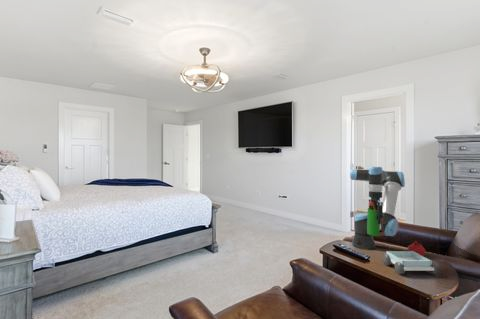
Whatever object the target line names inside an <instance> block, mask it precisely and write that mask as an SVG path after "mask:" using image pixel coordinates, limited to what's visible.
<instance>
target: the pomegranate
mask: <svg viewBox="0 0 480 319" xmlns="http://www.w3.org/2000/svg"><path fill="white" fill-rule="evenodd" d="M407 251H414V252H416V253H417V254H419V255H421V256H423V257H425V255H426V252H427V251H426V249H425V247H423V245H422V243H420V242H418V241H417V240H414V241H413V242H411V243H410V244H409V245H408V246H407Z"/></svg>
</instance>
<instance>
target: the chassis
mask: <svg viewBox="0 0 480 319" xmlns="http://www.w3.org/2000/svg"><path fill="white" fill-rule="evenodd" d="M385 253H386V254H385ZM385 253H384V254H382V263H383V265H385V266H391V265H392V264H393V265H394V270H395V272H396V273H397V275H404V274H405V273H406V271H409V272H410V271H412V272H413V271H418V272H419V271H422V272H423V271H426V273H427V274H429V275H436V274H437V272H438V268H437V266H436V264H435V263H434V262H433V260H431V259H429V258H427V257H425V256H421V255H419V254H417V253H416V252H414V251H408V250H407V251H406V250H405V251H404V250H401V251H397V250H395V251H394V250H393V251H392V250H389V251H388V250H387V251H386V252H385Z"/></svg>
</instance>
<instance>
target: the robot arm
mask: <svg viewBox="0 0 480 319" xmlns="http://www.w3.org/2000/svg"><path fill="white" fill-rule="evenodd" d="M349 176H350V177H349V178H350V180H351V181H362V182H367V183H368V186H367V187H368V198H370V199H368V203H369V202H373V204H374V208H375V210H378V215H377V218H375V219H378V224H380V230H381V231H383V236H386V237H395V236H396V234H397V233H398V229H399V221H398V220H397V218H396V216H395V212H396V208H397V207H396V206H397V202H398V201H397V200H398V195H399V191H401V190H402V188H405V185H406V183H405V181H406V180H405V175H404V173H403V171H389V170H387V171H386V170H384V169H383V167H382V166H369V168H368V169H357V168H356V169H351V170H350V173H349ZM383 187H384V189H385V190H384V193H383V192H382V191H383ZM381 199H382V201H381ZM368 208H371V210H373V206H369V205H368ZM367 217H368V212H367V213H366V212H364V213H362V212H361V213H357V214H355V215H354V235H353V238H352V240H351V241H352V242H351V245H352V246H353V247H355V248H358V249H362V250H374V249H375V248H376V243H375V240H374V236H373V235H369V234H367ZM382 218H383V219H382ZM381 220H383V222H382V223H383V225H382V226H383V227H382V228H381Z"/></svg>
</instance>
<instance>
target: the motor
mask: <svg viewBox="0 0 480 319" xmlns="http://www.w3.org/2000/svg"><path fill="white" fill-rule="evenodd" d="M369 206H373V210H371V208H369ZM367 213H368V217H367V234H369V235H372V236H373V237H382V236H384V235H383V231H381V230H380V224H378V219H375V218H377V215H378V210H375V208H374V204H373V202H369V201H368V208H367ZM382 219H383V218H382ZM382 222H383V220H381V228H382V227H383V226H382V225H383V223H382Z"/></svg>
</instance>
